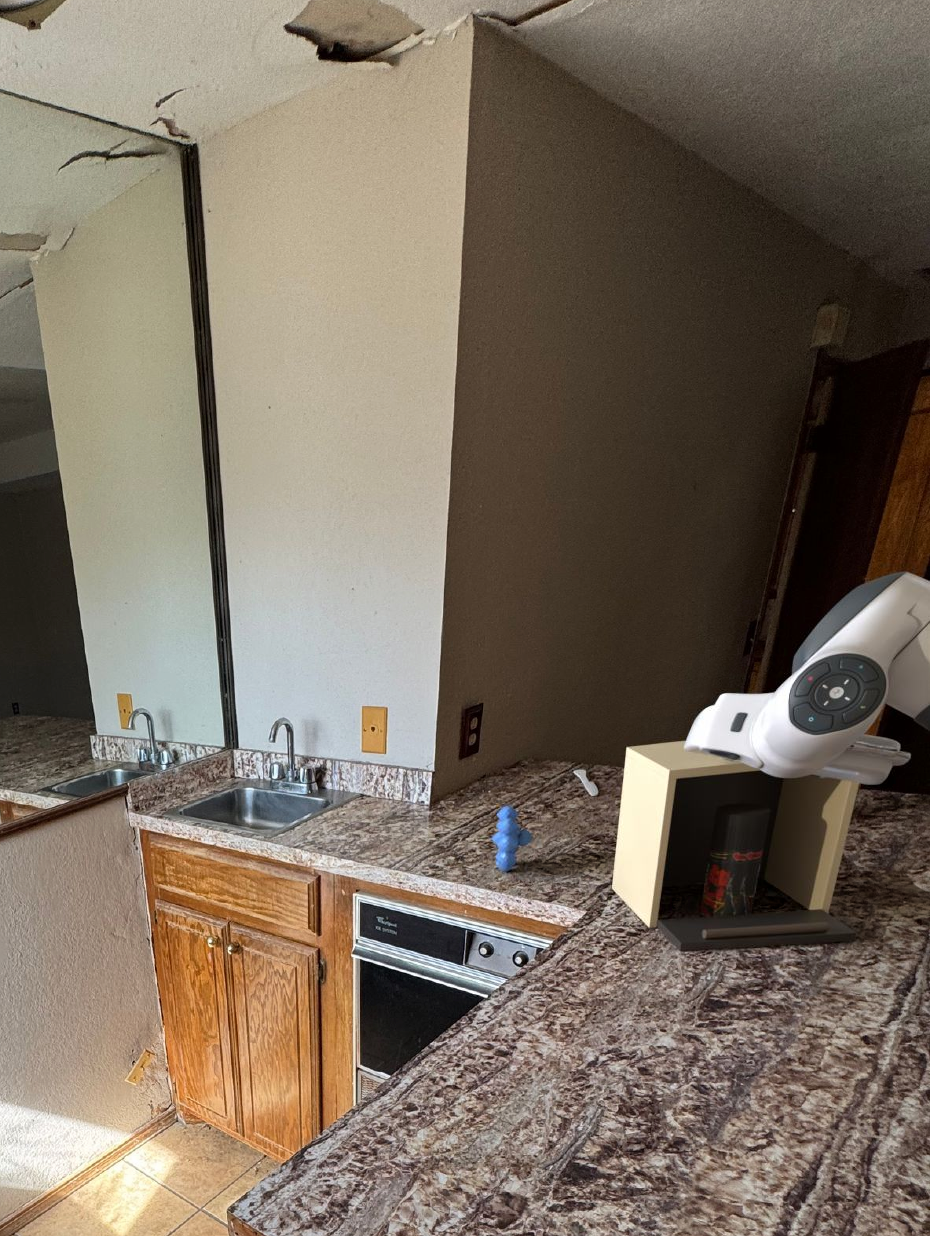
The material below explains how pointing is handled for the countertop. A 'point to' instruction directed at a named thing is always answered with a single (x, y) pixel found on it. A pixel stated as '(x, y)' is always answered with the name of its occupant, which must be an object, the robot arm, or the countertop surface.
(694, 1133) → the countertop surface
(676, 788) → the cream cabinet
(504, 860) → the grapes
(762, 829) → the deodorant
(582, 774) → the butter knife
